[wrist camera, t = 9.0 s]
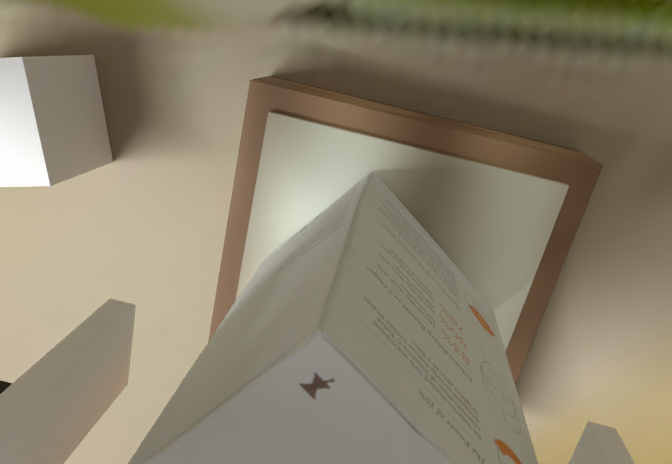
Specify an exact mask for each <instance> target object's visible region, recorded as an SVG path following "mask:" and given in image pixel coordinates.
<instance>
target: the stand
mask: <svg viewBox="0 0 672 464" xmlns="http://www.w3.org/2000/svg"><path fill="white" fill-rule="evenodd" d="M601 168H602V165H601V164H599V163H598V162H596V161H595V160H593V159H591V158H590V157H588V156H587V155H585V154H584V153H582V152H580V151H577V150H573V149H568V148H564V147H560V146H556V145H552V144H548V143H544V142H540V141H535V140H531V139H527V138H523V137H519V136H515V135H511V134H506V133H502V132H498V131H494V130H490V129H486V128H482V127H478V126H473V125H469V124H465V123H461V122H457V121H453V120H449V119H444V118H440V117H436V116H432V115H428V114H424V113H420V112H416V111H411V110H407V109H403V108H399V107H395V106H391V105H387V104H382V103H378V102H374V101H370V100H366V99H362V98H358V97H354V96H349V95H345V94H341V93H337V92H333V91H329V90H325V89H320V88H316V87H312V86H308V85H304V84H300V83H296V82H292V81H287V80H283V79H279V78H275V77H271V76H267V77H263V78H258V79H253V80H250V85H249V92H248V98H247V104H246V110H245V117H244V123H243V129H242V135H241V142H240V148H239V154H238V160H237V167H236V173H235V179H234V185H233V192H232V198H231V204H230V210H229V217H228V223H227V229H226V235H225V241H224V248H223V254H222V260H221V266H220V273H219V279H218V285H217V291H216V298H215V304H214V310H213V316H212V323H211V329H210V335H209V341H210V339H211V338H212V336H213V335H214V333H215V332H216V330H217V329H218V327H219V325H220V324H221V322H222V321H223V319H224V318H225V316H226V315H227V313H228V312H229V310H230V309H231V307H232V306H233V304H234V303H235V301H236V300H237V298H238V297H239V295H240V294H241V293H242V291H243V290H244V288H245V287H246V286H247V284H248V283H249V281H250V280H251V278H252V277H253V275H254V274H255V272H256V271H257V269H258V268H259V266H260V265H261V263H262V262H263V261H264V260H265V259H266V258H267V257H268V256H269V255H271V254H272V253H273V252H274V251H275V250H277V249H278V248H279V247H280V246H281V245H283V244H284V243H285V242H286V241H287V240H289V239H290V238H291V237H292V236H294V235H295V234H296V233H297V232H299V231H300V230H301V229H302V228H303V227H305V226H306V225H307V224H308V223H309V222H311V221H312V220H313V219H314V218H316V217H317V216H318V215H319V214H320V213H322V212H323V211H324V210H325V209H326V208H328V207H329V206H330V205H331V204H332V203H334V202H335V201H336V200H337V199H339V198H340V197H341V196H342V195H343V194H345V193H346V192H347V191H348V190H349V189H351V188H352V187H353V186H354V185H355V184H357V183H358V182H359V181H360V180H362V179H363V178H364V177H365V176H366V175H367V174H368V173H370V172H374V173H375V174H376V175H377V176H378V177H379V178H380V179H381V180H382V182H383V183H384V184H385V185H386V186H387V187H388V188H389V189H390V190H391V192H392V193H393V194H394V195H395V196H396V197H397V198H398V199H399V201H400V202H401V203H402V204H403V205H404V206H405V207H406V209H407V210H408V211H409V212H410V213H411V214H412V216H413V217H414V218H415V219H416V220H417V221H418V222H419V224H420V225H421V226H422V227H423V228H424V229H425V230H426V232H427V233H428V234H429V235H430V236H431V237H432V238H433V240H434V241H435V242H436V243H437V244H438V245H439V246H440V248H441V249H442V250H443V251H444V252H445V253H446V254H447V256H448V257H449V258H450V259H451V260H452V261H453V263H454V264H455V265H456V266H457V267H458V268H459V270H460V271H461V272H462V273H463V274H464V275H465V277H466V278H467V279H468V280H469V281H470V283H471V284H472V285H473V286H474V287H475V288H476V290H477V291H478V292H479V293H480V294H481V295H482V297H483V298H484V299H485V300H486V301H487V303H488V304H489V305H490V306H491V307H492V309H493V310H494V313H495V317H496V321H497V324H498V328H499V331H500V335H501V339H502V342H503V346H504V349H505V353H506V356H507V360H508V363H509V367H510V370H511V373H512V377H513V380H514V384H516V381H517V379H518V376H519V374H520V371H521V369H522V366H523V364H524V361H525V359H526V356H527V354H528V351H529V349H530V346H531V344H532V341H533V339H534V336H535V334H536V331H537V329H538V326H539V324H540V321H541V319H542V316H543V314H544V311H545V309H546V306H547V304H548V301H549V299H550V296H551V294H552V291H553V289H554V286H555V284H556V281H557V278H558V276H559V273H560V271H561V268H562V266H563V263H564V261H565V258H566V256H567V253H568V251H569V248H570V246H571V243H572V241H573V238H574V236H575V233H576V231H577V228H578V226H579V223H580V221H581V218H582V216H583V213H584V211H585V208H586V206H587V203H588V201H589V198H590V196H591V193H592V191H593V188H594V186H595V183H596V181H597V178H598V176H599V173H600V171H601ZM209 341H208V342H209Z"/></svg>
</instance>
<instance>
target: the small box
mask: <svg viewBox="0 0 672 464" xmlns="http://www.w3.org/2000/svg"><path fill="white" fill-rule="evenodd" d="M128 464H538V462H537V458H536V455H535V452H534V448H533V445H532V441H531V438H530V435H529V431H528V428H527V424H526V421H525V417H524V414H523V410H522V407H521V403H520V400H519V396H518V393H517V390H516V387H515V384H514V380H513V377H512V373H511V370H510V367H509V363H508V360H507V356H506V353H505V349H504V346H503V342H502V339H501V335H500V331H499V328H498V324H497V321H496V317H495V313H494V310H493V309H492V307H491V306H490V305H489V304H488V303H487V301H486V300H485V299H484V298H483V297H482V295H481V294H480V293H479V292H478V291H477V290H476V288H475V287H474V286H473V285H472V284H471V283H470V281H469V280H468V279H467V278H466V277H465V275H464V274H463V273H462V272H461V271H460V270H459V268H458V267H457V266H456V265H455V264H454V263H453V261H452V260H451V259H450V258H449V257H448V256H447V254H446V253H445V252H444V251H443V250H442V249H441V248H440V246H439V245H438V244H437V243H436V242H435V241H434V240H433V238H432V237H431V236H430V235H429V234H428V233H427V232H426V230H425V229H424V228H423V227H422V226H421V225H420V224H419V222H418V221H417V220H416V219H415V218H414V217H413V216H412V214H411V213H410V212H409V211H408V210H407V209H406V207H405V206H404V205H403V204H402V203H401V202H400V201H399V199H398V198H397V197H396V196H395V195H394V194H393V193H392V192H391V190H390V189H389V188H388V187H387V186H386V185H385V184H384V183H383V182H382V180H381V179H380V178H379V177H378V176H377V175H376V174H375V173H374V172H370V173H368V174H367V175H366V176H365V177H364V178H363V179H362V180H360V181H359V182H358V183H357V184H355V185H354V186H353V187H352V188H351V189H349V190H348V191H347V192H346V193H345V194H343V195H342V196H341V197H340V198H339V199H337V200H336V201H335V202H334V203H332V204H331V205H330V206H329V207H328V208H326V209H325V210H324V211H323V212H322V213H320V214H319V215H318V216H317V217H316V218H314V219H313V220H312V221H311V222H309V223H308V224H307V225H306V226H305V227H303V228H302V229H301V230H300V231H299V232H297V233H296V234H295V235H294V236H292V237H291V238H290V239H289V240H287V241H286V242H285V243H284V244H283V245H281V246H280V247H279V248H278V249H277V250H275V251H274V252H273V253H272V254H271V255H269V256H268V257H267V258H266V259H265V260H264V261H263V262H262V263H261V265H260V266H259V268H258V269H257V271H256V272H255V274H254V275H253V277H252V278H251V280H250V281H249V283H248V284H247V286H246V287H245V288H244V290H243V291H242V293H241V294H240V295H239V297H238V298H237V300H236V301H235V303H234V304H233V306H232V307H231V309H230V310H229V312H228V313H227V315H226V316H225V318H224V319H223V321H222V322H221V324H220V325H219V327H218V329H217V330H216V332H215V333H214V335H213V336H212V338H211V339H210V341H209V342H208V344H207V345H206V347H205V348H204V350H203V351H202V353H201V354H200V355H199V357H198V358H197V360H196V362H195V363H194V365H193V366H192V367H191V369H190V370H189V372H188V373H187V375H186V376H185V378H184V379H183V381H182V382H181V384H180V386H179V387H178V389H177V390H176V392H175V393H174V395H173V396H172V398H171V399H170V401H169V402H168V404H167V405H166V407H165V408H164V410H163V411H162V413H161V414H160V416H159V418H158V419H157V421H156V422H155V424H154V425H153V427H152V428H151V429H150V431H149V432H148V434H147V435H146V437H145V438H144V440H143V441H142V443H141V445H140V446H139V448H138V450H137V451H136V453H135V454H134V455H133V457H132V458H131V460H130V461H129V463H128Z"/></svg>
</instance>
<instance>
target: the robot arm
mask: <svg viewBox="0 0 672 464" xmlns="http://www.w3.org/2000/svg"><path fill="white" fill-rule="evenodd" d="M135 308H136V305H134V304H130V303H126V302H122V301H118V300H114V299H109V300H108V301H107V302H106V303H104V304H103V305H102V306H101V307H100V308H99V309H98V310H96V311H95V312H94V313H93V314H92V315H91V316H89V317H88V318H87V319H86V320H85V321H84V322H83V323H81V324H80V325H79V326H78V327H77V328H76V329H75V330H73V331H72V332H71V333H70V334H69V335H68V336H67V337H65V338H64V339H63V340H62V341H61V342H60V343H59V344H57V345H56V346H55V347H54V348H53V349H52V350H50V351H49V352H48V353H47V354H46V355H45V356H44V357H42V358H41V359H40V360H39V361H38V362H37V363H36V364H34V365H33V366H32V367H31V368H30V369H29V370H28V371H26V372H25V373H24V374H23V375H22V376H21V377H20V378H18V379H17V380H16V381H15V382H14V383H13V384H12V383H8V382H4V381H0V464H63V463H64V462H65V461H66V460H67V458H68V457H69V456H70V455H71V453H72V452H73V451H74V450H75V448H76V447H77V446H78V445H79V444H80V442H81V441H82V440H83V439H84V437H85V436H86V435H87V434H88V432H89V431H90V430H91V429H92V427H93V426H94V425H95V424H96V422H97V421H98V420H99V419H100V418H101V416H102V415H103V414H104V413H105V411H106V410H107V409H108V408H109V406H110V405H111V404H112V403H113V401H114V400H115V399H116V398H117V396H118V395H119V394H120V393H121V392H122V390H123V389H124V388H125V387H126V385H127V384H128V375H129V365H130V356H131V346H132V336H133V327H134V317H135ZM569 464H635V463H634V461H633V459H632V457H631V456H630V454H629V452H628V450H627V448H626V447H625V445H624V443H623V441H622V439H621V438H620V436H619V434H618V432H617V430H616V428H612V427H608V426H604V425H600V424H596V423H592V422H588V423H587V425H586V427H585V429H584V432H583V434H582V436H581V438H580V440H579V442H578V444H577V447H576V449H575V451H574V453H573V455H572V457H571V459H570V462H569Z"/></svg>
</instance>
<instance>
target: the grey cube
mask: <svg viewBox="0 0 672 464" xmlns="http://www.w3.org/2000/svg"><path fill="white" fill-rule="evenodd" d="M112 162H113V158H112V153H111V147H110V142H109V136H108V131H107V125H106V119H105V114H104V108H103V103H102V97H101V92H100V86H99V81H98V75H97V70H96V64H95V59H94V55H65V56H30V57H8V58H0V187H27V186H52V185H54V184H57V183H60V182H62V181H65V180H67V179H70V178H73V177H75V176H78V175H80V174H83V173H86V172H88V171H91V170H93V169H96V168H99V167H101V166H104V165H106V164H109V163H112Z"/></svg>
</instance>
